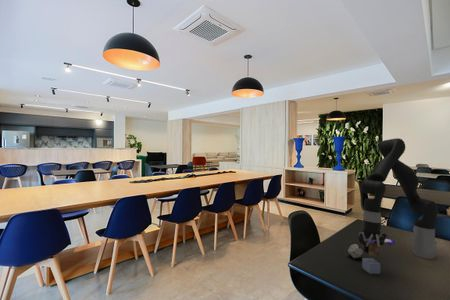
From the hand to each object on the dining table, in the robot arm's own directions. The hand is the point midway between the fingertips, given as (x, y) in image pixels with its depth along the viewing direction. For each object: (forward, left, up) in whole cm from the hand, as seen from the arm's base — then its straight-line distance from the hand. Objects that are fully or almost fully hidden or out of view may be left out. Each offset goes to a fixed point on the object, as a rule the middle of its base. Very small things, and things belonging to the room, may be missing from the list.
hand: (371, 252), depth 111 cm
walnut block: (0, 0, 0) cm, 0 cm away
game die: (0, -13, -9) cm, 16 cm away
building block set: (-34, -42, -10) cm, 55 cm away
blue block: (0, 0, -9) cm, 9 cm away
